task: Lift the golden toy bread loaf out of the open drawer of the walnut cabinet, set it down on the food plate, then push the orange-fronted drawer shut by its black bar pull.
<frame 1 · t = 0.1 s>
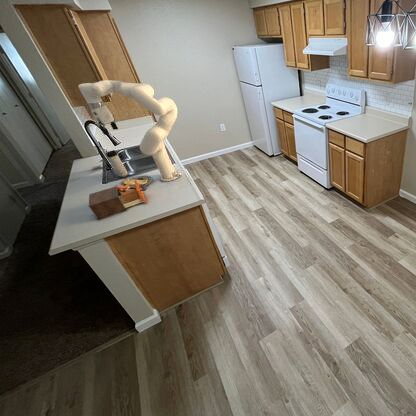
hand: (111, 131, 174), 37 cm above the worktop, tool pointing down, fingers open, 9 cm apart
drawer: (131, 194, 168), point 5 cm above the worktop, slide at 10.0 cm, touching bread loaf
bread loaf: (132, 199, 170), point 2 cm above the worktop, touching drawer
food plate: (133, 187, 188), on the worktop
cabinet: (112, 208, 166), on the worktop
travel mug: (124, 175, 204), on the worktop
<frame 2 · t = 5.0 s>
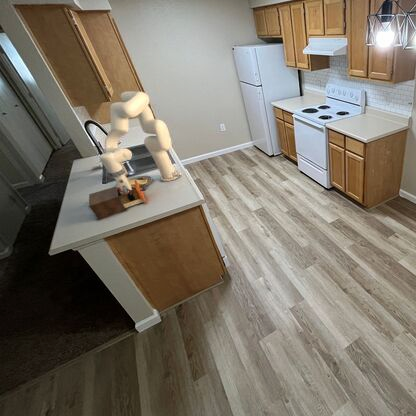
hand: (131, 197, 169), 3 cm above the worktop, tool pointing down, fingers closed on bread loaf, 5 cm apart
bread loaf: (132, 199, 170), point 2 cm above the worktop, touching drawer, gripper
everything else where it was.
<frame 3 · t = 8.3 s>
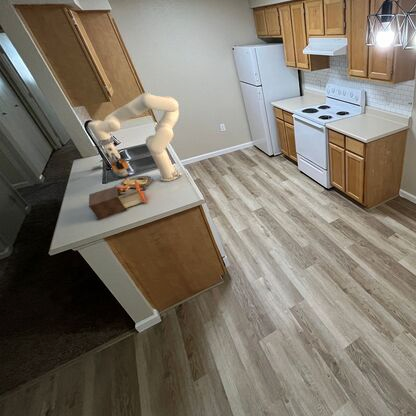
hand: (121, 167, 174), 17 cm above the worktop, tool pointing down, fingers closed on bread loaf, 5 cm apart
drawer: (131, 194, 168), point 5 cm above the worktop, slide at 10.0 cm
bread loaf: (121, 168, 175), point 16 cm above the worktop, touching gripper
everything else where it was.
when the fingers open (4 cm above the worktop, at t = 12.0 s): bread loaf stays where it is, resting on food plate.
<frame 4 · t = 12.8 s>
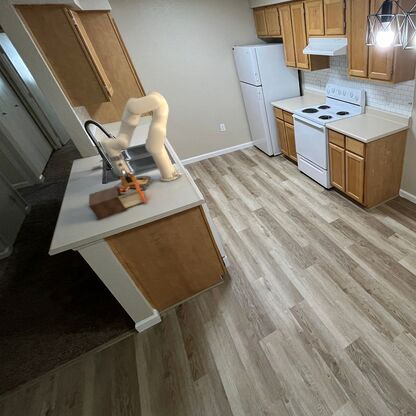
hand: (129, 179, 184), 6 cm above the worktop, tool pointing down, fingers open, 9 cm apart
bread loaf: (130, 183, 185), point 3 cm above the worktop, touching food plate
food plate: (133, 187, 188), on the worktop, touching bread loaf
everything else where it was.
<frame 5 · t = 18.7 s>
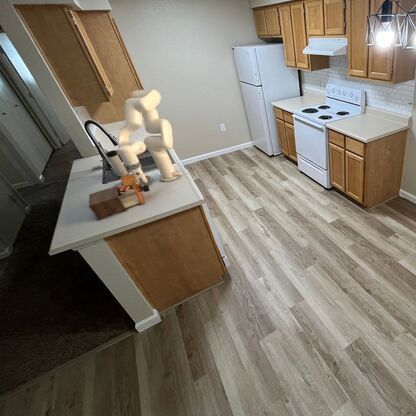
hand: (147, 190, 173), 4 cm above the worktop, tool pointing down, fingers closed
drawer: (129, 195, 168), point 5 cm above the worktop, slide at 8.6 cm, touching gripper
everything else where it was.
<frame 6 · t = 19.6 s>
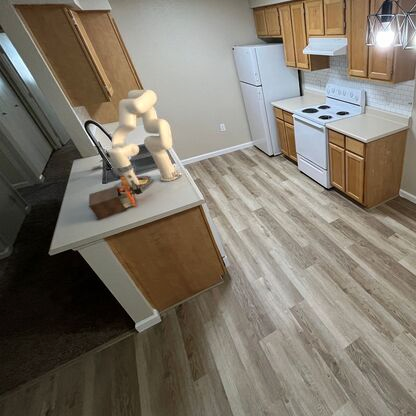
hand: (139, 193, 171), 4 cm above the worktop, tool pointing down, fingers closed
drawer: (121, 197, 166), point 5 cm above the worktop, slide at 4.2 cm, touching gripper
everything else where it was.
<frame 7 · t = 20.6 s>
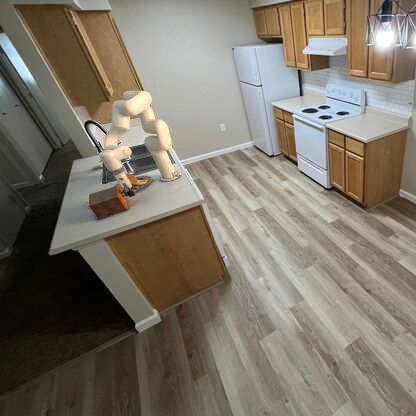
hand: (132, 195, 169), 4 cm above the worktop, tool pointing down, fingers closed
drawer: (113, 200, 164), point 5 cm above the worktop, slide at -0.1 cm, touching cabinet, gripper
everything else where it was.
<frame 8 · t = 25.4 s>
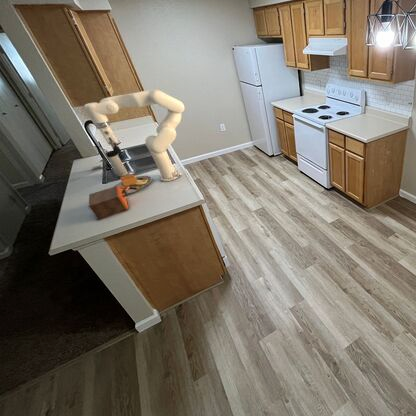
hand: (118, 153, 168), 27 cm above the worktop, tool pointing down, fingers closed
drawer: (113, 200, 164), point 5 cm above the worktop, slide at 0.0 cm
everything else where it was.
at the end: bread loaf 0.3 cm from the food plate (horizontally); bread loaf touching food plate; drawer slide at 0.0 cm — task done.
